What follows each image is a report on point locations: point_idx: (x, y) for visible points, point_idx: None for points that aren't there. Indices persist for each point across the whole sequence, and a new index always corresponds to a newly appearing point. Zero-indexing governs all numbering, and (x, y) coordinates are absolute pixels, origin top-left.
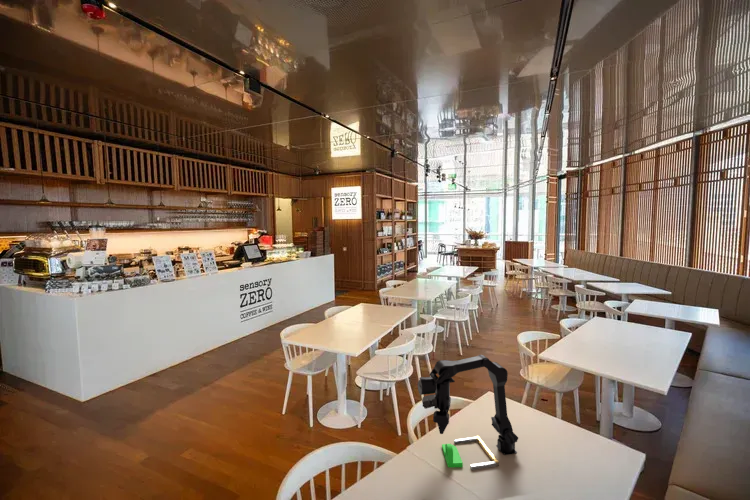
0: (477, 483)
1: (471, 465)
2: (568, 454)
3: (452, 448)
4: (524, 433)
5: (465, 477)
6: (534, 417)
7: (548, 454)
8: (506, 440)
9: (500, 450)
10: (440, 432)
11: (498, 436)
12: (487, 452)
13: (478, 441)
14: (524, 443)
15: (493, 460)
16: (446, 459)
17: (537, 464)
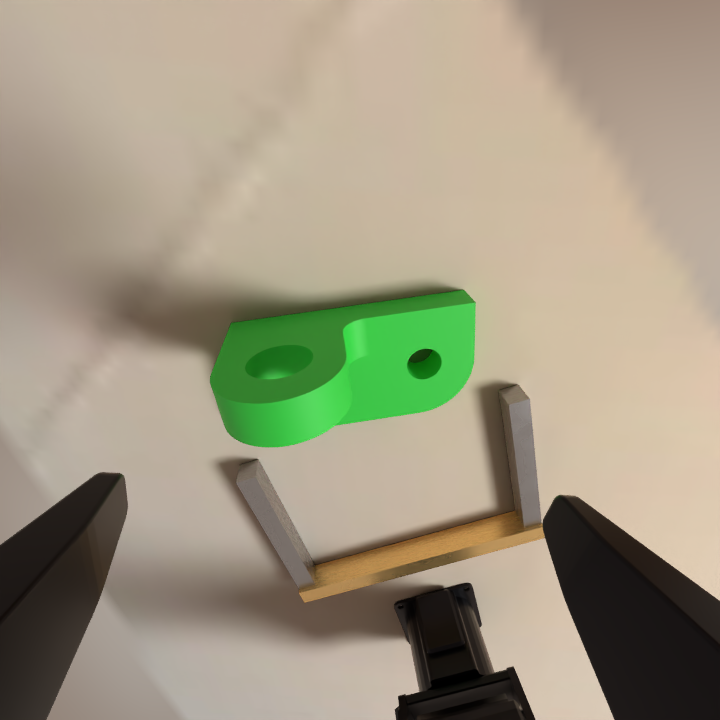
0: None
1: (247, 481)
2: None
3: (418, 382)
4: (547, 672)
5: (156, 425)
6: None
7: None
8: (400, 715)
9: (417, 603)
10: (68, 508)
11: (472, 661)
12: (393, 558)
13: (502, 524)
14: None
15: (326, 576)
16: (292, 323)
17: (338, 686)
